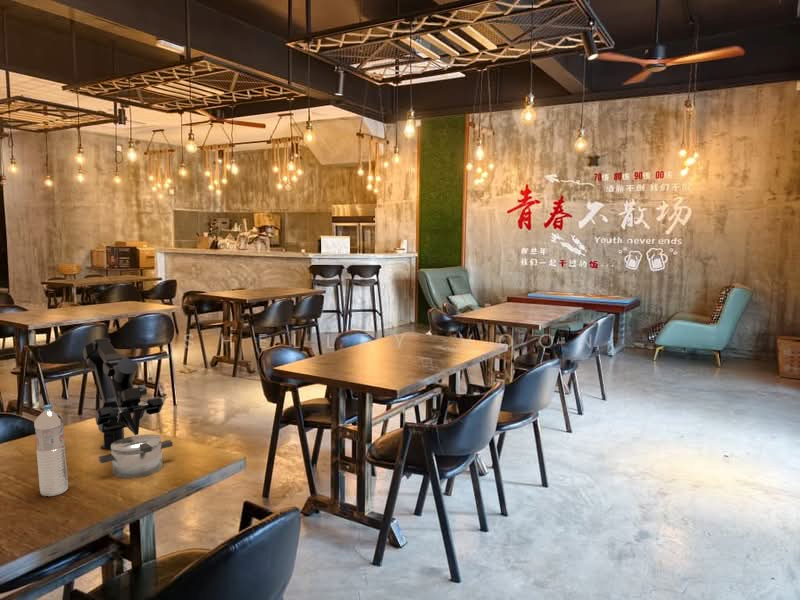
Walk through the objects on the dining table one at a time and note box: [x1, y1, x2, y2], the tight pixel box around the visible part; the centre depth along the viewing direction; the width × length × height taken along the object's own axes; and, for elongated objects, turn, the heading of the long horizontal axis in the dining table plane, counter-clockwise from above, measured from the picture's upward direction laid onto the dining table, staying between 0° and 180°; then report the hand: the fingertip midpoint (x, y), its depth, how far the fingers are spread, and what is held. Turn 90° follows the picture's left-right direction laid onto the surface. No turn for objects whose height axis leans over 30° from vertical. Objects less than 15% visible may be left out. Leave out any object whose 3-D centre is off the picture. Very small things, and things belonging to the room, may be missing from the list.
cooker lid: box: [110, 434, 162, 453], centre depth 173 cm, size 18×14×2 cm
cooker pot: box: [98, 439, 174, 479], centre depth 176 cm, size 15×21×7 cm
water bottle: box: [33, 404, 69, 497], centre depth 159 cm, size 7×7×25 cm
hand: (136, 434), depth 174 cm, fingers closed
